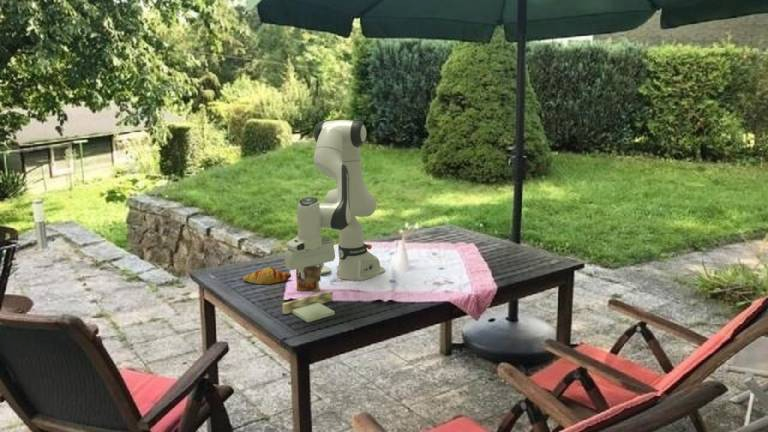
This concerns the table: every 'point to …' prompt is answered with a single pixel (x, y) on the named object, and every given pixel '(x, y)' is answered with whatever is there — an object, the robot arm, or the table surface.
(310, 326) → the table surface
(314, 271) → the cube
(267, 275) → the croissant
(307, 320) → the tile
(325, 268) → the cream elongated piece
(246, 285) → the table surface
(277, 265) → the table surface
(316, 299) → the plank
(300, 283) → the candy box
